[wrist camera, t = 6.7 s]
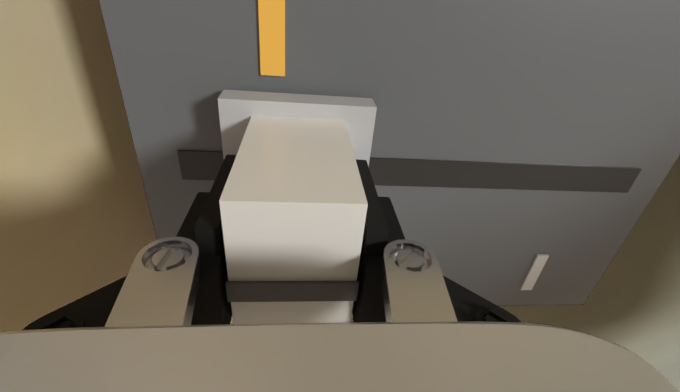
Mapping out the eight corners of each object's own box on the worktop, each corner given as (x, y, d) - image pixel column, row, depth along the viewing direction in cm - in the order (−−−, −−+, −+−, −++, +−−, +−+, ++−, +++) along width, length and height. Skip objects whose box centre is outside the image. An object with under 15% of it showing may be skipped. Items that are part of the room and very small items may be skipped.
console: (711, -32, 14) (805, -34, 11) (551, 267, 22) (584, 306, 20) (121, -100, 11) (67, -121, 9) (190, 266, 20) (173, 310, 17)
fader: (371, 98, 12) (420, 187, 7) (354, 234, 15) (378, 365, 10) (223, 89, 12) (159, 179, 7) (236, 233, 15) (200, 370, 10)
